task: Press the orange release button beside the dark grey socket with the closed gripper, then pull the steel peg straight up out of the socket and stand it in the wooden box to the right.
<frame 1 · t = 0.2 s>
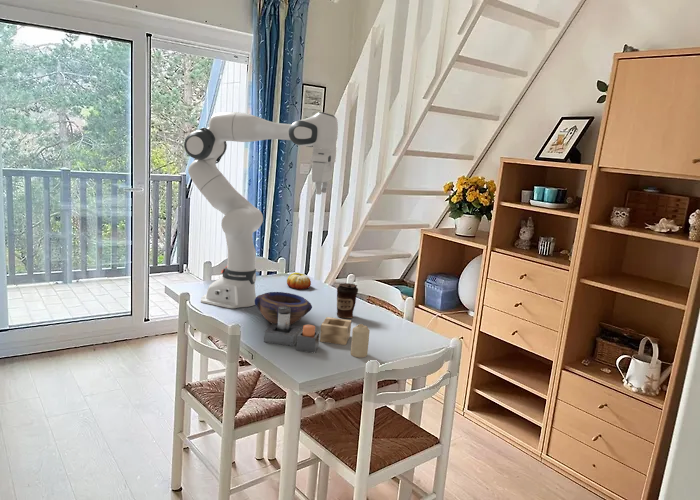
hand: (321, 193, 203), 48 cm above the table, fingers open, 8 cm apart
socket block: (282, 338, 181), on the table
coffee cup: (345, 317, 211), on the table
bowl: (282, 322, 198), on the table
candle: (358, 355, 173), on the table
wooden box: (335, 338, 185), on the table
steel peg: (282, 339, 181), resting in socket block
button housing: (307, 348, 175), on the table
release button: (308, 333, 174), point 5 cm above the table, slide at 0.0 cm
fruit: (298, 287, 248), on the table
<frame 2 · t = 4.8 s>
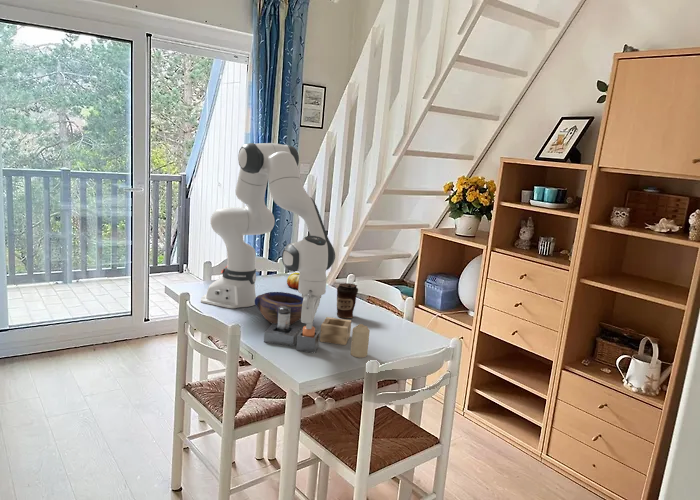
hand: (309, 327, 173), 7 cm above the table, fingers closed, pressing on release button
release button: (308, 334, 174), point 5 cm above the table, slide at 0.4 cm, touching gripper
everything else where it was.
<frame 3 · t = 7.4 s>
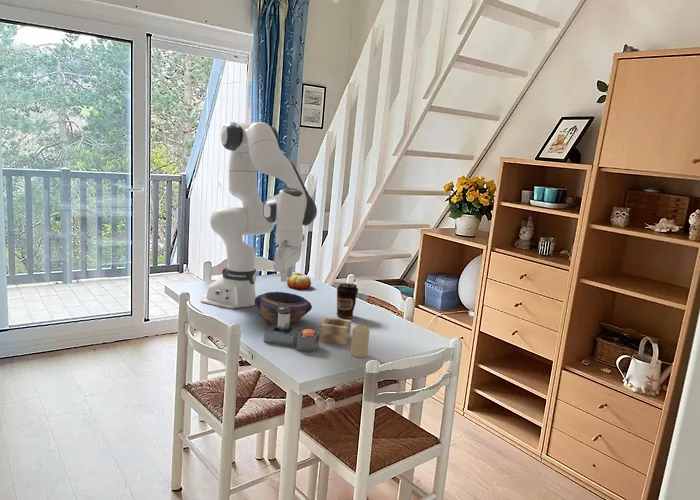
hand: (286, 279, 177), 21 cm above the table, fingers open, 5 cm apart
release button: (308, 337, 174), point 4 cm above the table, slide at 1.6 cm
everything else where it was.
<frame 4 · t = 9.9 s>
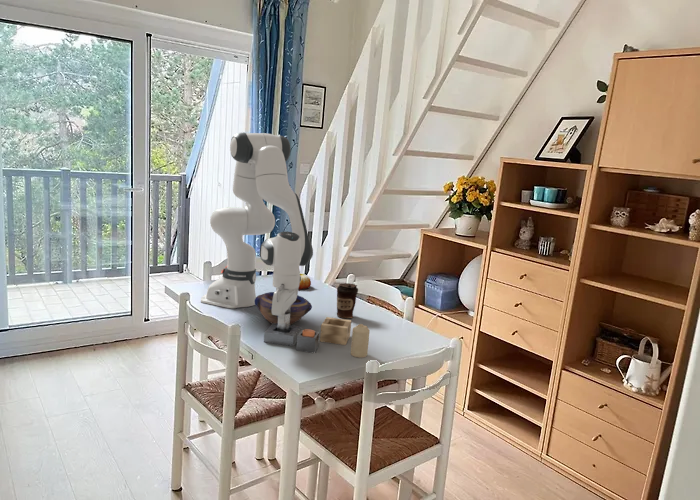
hand: (283, 320, 180), 7 cm above the table, fingers closed on steel peg, 4 cm apart
steel peg: (282, 339, 181), resting in socket block, touching gripper
everything else where it was.
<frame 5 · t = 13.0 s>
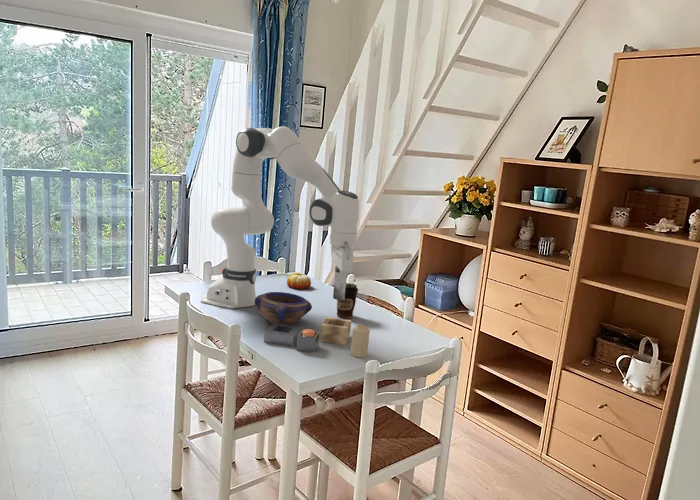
hand: (340, 279, 181), 21 cm above the table, fingers closed on steel peg, 4 cm apart
steel peg: (338, 298, 183), point 15 cm above the table, touching gripper
everything else where it was.
when the fingers open (9 cm above the table, at t = 16.2 s): steel peg drops 2 cm, resting in wooden box.
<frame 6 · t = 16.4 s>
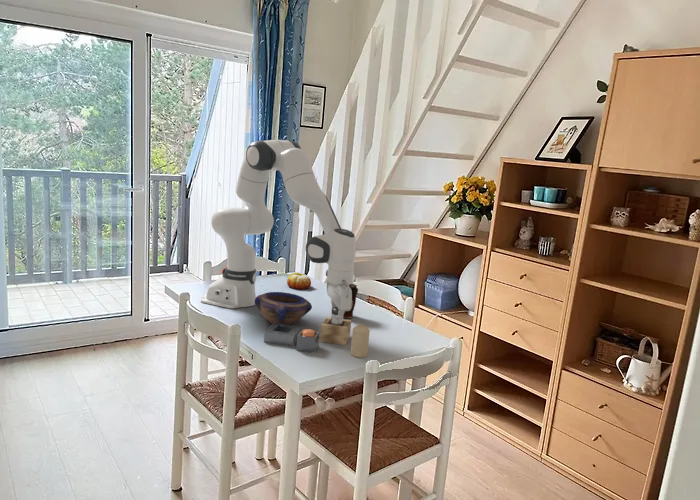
hand: (337, 315, 184), 9 cm above the table, fingers open, 6 cm apart
steel peg: (335, 338, 185), resting in wooden box
everything else where it was.
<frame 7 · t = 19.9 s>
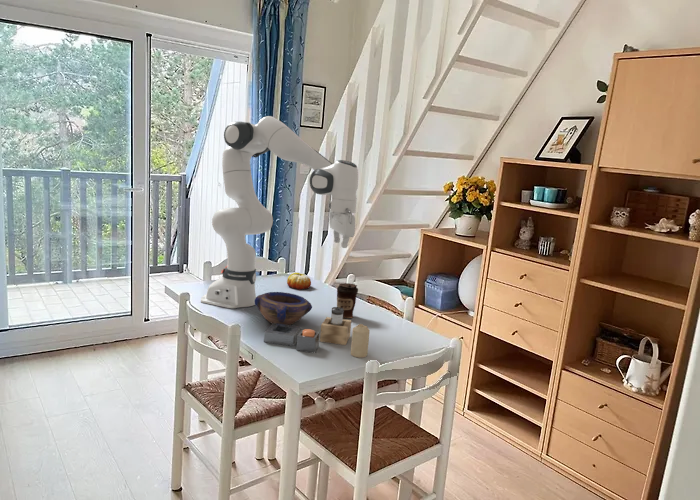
hand: (340, 245, 191), 31 cm above the table, fingers open, 8 cm apart
nothing on the table moved.
at the end: steel peg 0.0 cm off-centre on the wooden box, point 0.0 cm above the wooden box's base; steel peg tilted 0°; release button slide at 1.6 cm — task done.
